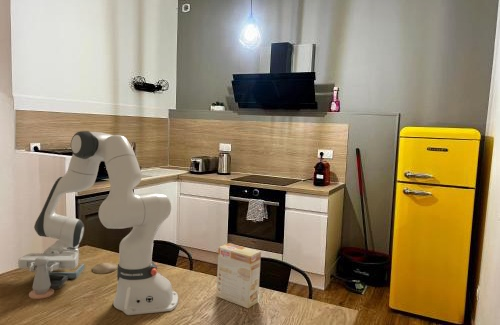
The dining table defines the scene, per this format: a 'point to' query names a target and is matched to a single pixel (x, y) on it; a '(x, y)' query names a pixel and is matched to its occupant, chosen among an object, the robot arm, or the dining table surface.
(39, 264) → the salt shaker
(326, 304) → the dining table surface
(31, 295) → the coaster
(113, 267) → the cork trivet
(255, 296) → the coffeecake box
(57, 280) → the hole frame
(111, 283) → the dining table surface
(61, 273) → the cubby bay
